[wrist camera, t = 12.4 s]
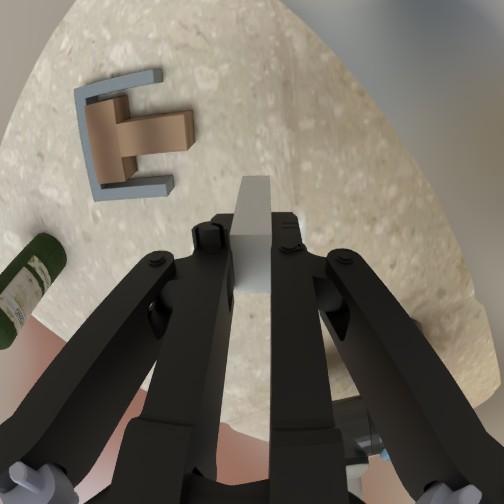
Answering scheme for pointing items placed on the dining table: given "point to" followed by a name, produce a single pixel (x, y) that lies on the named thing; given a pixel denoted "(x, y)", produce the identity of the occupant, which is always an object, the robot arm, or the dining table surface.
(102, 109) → the t block
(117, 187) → the dock
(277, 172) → the dining table surface
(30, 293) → the wine bottle
